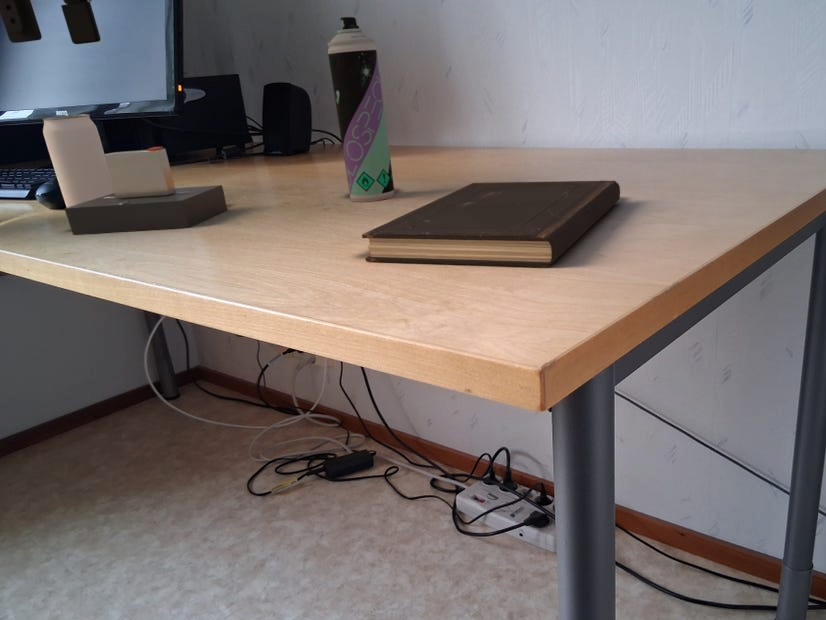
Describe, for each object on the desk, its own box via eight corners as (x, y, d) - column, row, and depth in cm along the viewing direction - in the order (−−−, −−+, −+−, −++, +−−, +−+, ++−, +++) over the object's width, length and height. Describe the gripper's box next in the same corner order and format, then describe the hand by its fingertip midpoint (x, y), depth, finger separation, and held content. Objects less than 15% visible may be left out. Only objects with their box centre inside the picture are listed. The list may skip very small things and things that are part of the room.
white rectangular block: (116, 198, 81) (103, 152, 79) (125, 196, 82) (112, 150, 80) (168, 195, 80) (156, 148, 78) (176, 192, 81) (165, 146, 79)
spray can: (343, 202, 84) (314, 19, 76) (360, 194, 89) (335, 20, 81) (385, 200, 82) (360, 13, 75) (401, 192, 87) (379, 15, 79)
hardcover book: (365, 261, 57) (361, 234, 56) (474, 204, 76) (472, 182, 75) (554, 268, 51) (553, 237, 50) (620, 203, 70) (620, 180, 69)
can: (112, 200, 101) (87, 114, 97) (123, 204, 97) (98, 113, 92) (63, 208, 98) (34, 119, 93) (72, 213, 93) (43, 119, 88)
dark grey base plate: (70, 235, 78) (61, 207, 77) (124, 215, 88) (117, 190, 87) (187, 228, 76) (180, 199, 75) (228, 209, 86) (223, 183, 85)
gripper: (26, -124, 76) (78, 47, 82) (-114, -171, 60) (-36, 45, 67) (88, -135, 75) (136, 39, 81) (-37, -185, 59) (34, 36, 66)
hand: (58, 42), depth 74 cm, fingers open, 9 cm apart
